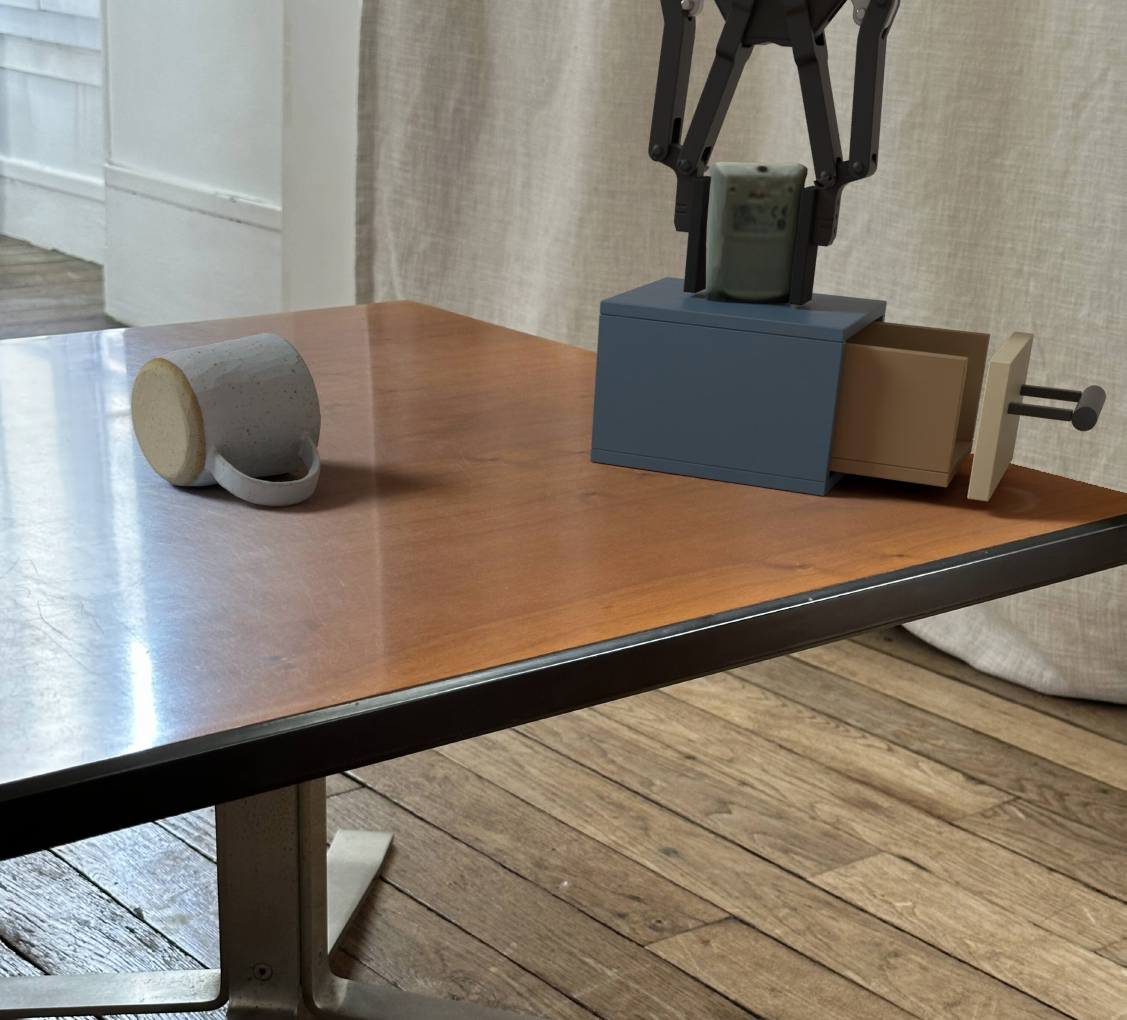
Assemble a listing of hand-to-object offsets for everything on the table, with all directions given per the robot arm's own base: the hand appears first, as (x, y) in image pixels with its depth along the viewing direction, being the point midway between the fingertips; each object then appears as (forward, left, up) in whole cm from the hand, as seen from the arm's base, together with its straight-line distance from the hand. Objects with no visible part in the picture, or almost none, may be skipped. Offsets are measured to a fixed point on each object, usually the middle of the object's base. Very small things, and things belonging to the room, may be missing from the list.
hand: (747, 294), depth 97 cm
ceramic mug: (+22, +22, -10) cm, 33 cm away
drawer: (-12, 0, -9) cm, 15 cm away
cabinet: (0, 0, -10) cm, 10 cm away
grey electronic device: (0, 0, 0) cm, 1 cm away
